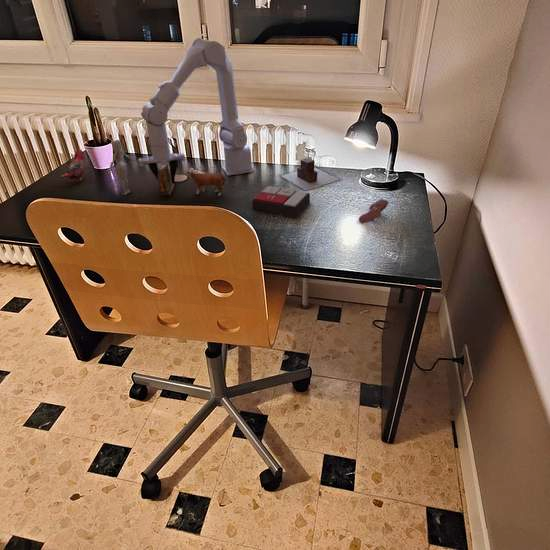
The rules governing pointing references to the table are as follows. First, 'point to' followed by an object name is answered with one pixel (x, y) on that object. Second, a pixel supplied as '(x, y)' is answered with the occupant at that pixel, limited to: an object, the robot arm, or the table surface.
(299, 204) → the red and grey box
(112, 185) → the table surface
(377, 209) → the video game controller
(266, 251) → the table surface
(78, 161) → the decorative bird figurine
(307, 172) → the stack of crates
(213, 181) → the bull figurine
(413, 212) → the table surface
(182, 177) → the cork coaster
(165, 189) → the tin
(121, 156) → the human figurine
